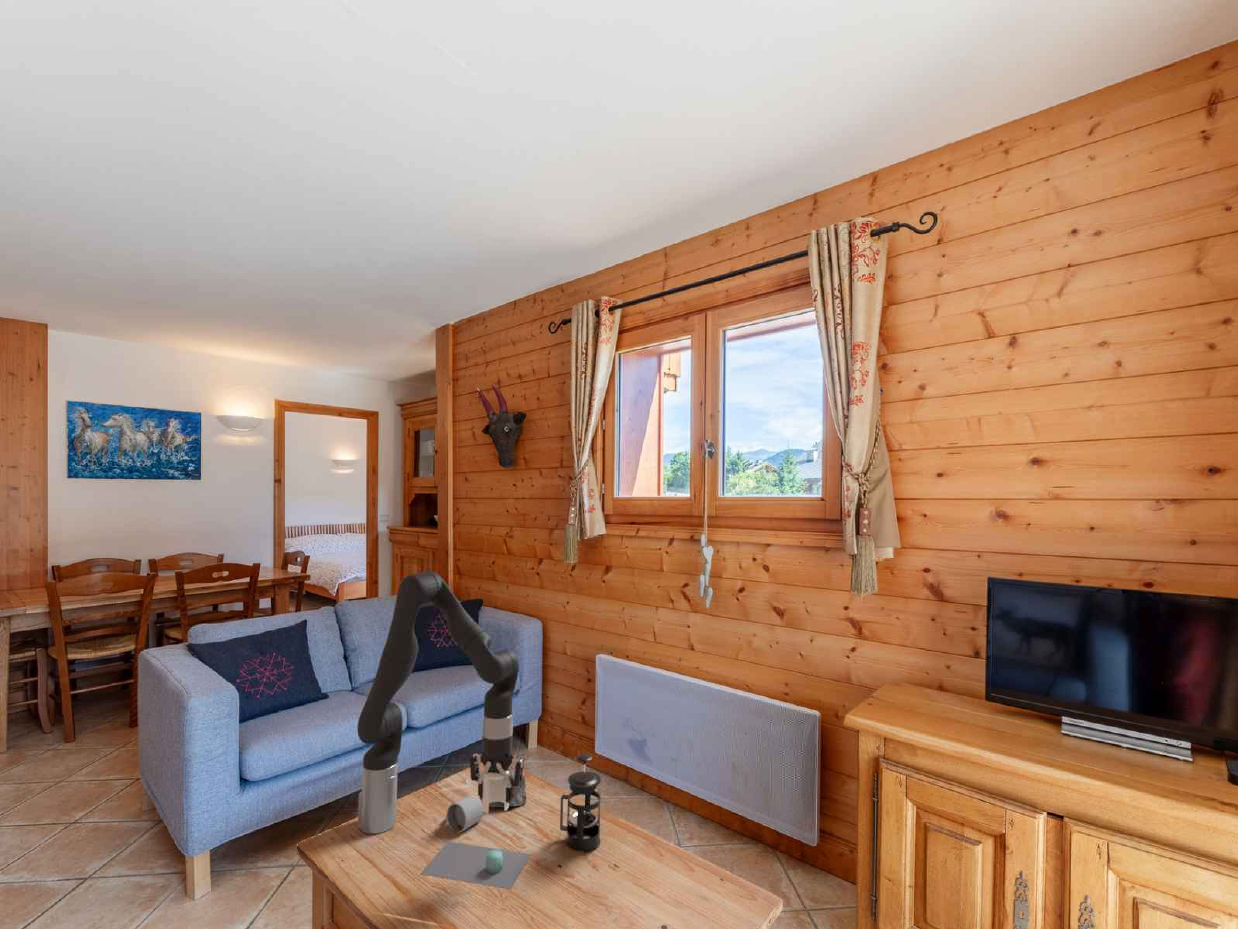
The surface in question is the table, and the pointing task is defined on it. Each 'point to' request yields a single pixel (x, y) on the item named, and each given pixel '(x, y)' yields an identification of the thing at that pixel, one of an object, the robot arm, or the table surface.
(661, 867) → the table surface
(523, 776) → the mineral rock
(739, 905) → the table surface
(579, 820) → the french press
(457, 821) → the ceramic mug
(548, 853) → the table surface
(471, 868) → the mat
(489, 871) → the teal egg-shaped capsule
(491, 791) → the cover cup
